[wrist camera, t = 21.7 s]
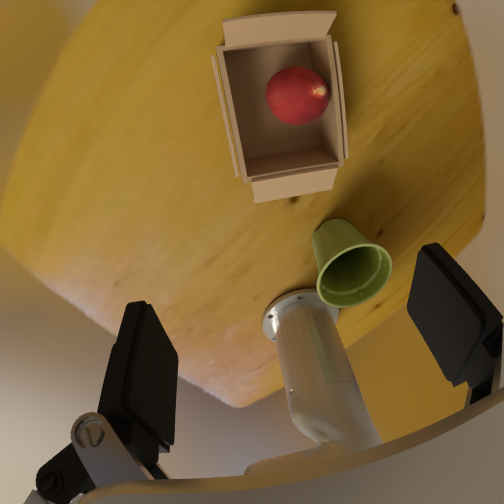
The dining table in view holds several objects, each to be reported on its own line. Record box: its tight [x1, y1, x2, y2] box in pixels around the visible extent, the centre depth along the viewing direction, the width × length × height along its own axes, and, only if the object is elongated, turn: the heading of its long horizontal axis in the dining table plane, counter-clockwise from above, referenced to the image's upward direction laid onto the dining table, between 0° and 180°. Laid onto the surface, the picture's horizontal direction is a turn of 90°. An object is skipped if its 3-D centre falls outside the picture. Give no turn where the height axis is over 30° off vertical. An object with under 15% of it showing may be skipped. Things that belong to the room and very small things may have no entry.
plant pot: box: [312, 219, 392, 308], centre depth 36 cm, size 9×9×9 cm
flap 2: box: [251, 166, 338, 203], centre depth 29 cm, size 4×8×1 cm
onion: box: [265, 66, 330, 125], centre depth 25 cm, size 6×6×8 cm
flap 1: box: [222, 11, 337, 48], centre depth 18 cm, size 4×8×1 cm
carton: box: [211, 35, 348, 183], centre depth 26 cm, size 13×11×6 cm
